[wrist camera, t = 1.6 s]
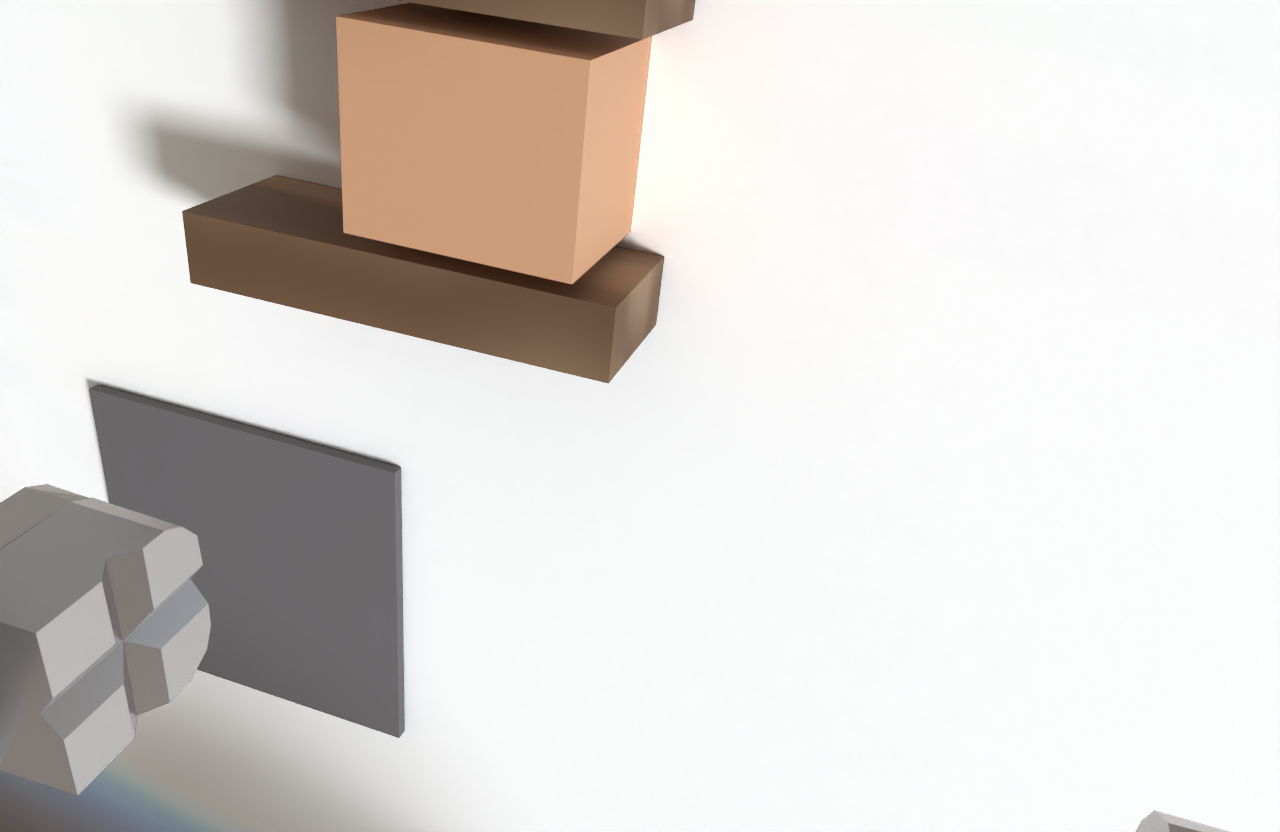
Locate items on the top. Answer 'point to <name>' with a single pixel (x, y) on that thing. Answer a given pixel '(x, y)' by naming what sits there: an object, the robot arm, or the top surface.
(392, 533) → the charcoal mat
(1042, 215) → the top surface
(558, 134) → the terracotta block
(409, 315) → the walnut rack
